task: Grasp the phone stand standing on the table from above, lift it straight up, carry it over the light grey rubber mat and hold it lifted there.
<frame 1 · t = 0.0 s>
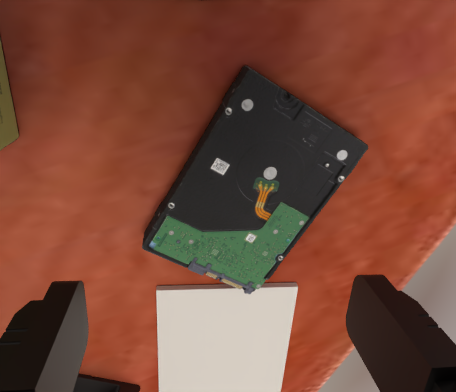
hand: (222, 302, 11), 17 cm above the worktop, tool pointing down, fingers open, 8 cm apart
grey mat: (223, 345, 35), on the worktop
disk drive: (246, 183, 29), on the worktop
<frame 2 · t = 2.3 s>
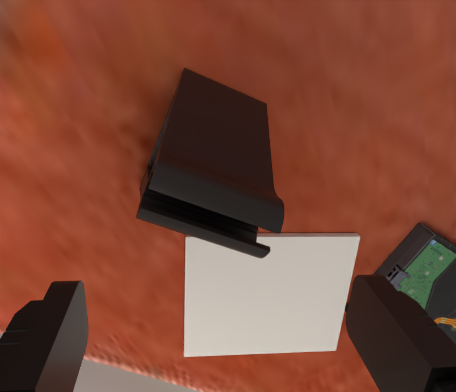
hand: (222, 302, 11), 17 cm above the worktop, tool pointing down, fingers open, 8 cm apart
phone stand: (200, 145, 27), on the worktop
grey mat: (266, 295, 33), on the worktop
disk drive: (431, 295, 36), on the worktop
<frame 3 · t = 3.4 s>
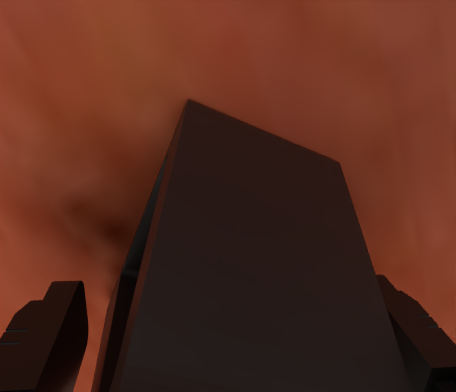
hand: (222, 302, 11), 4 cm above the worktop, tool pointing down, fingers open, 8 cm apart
phone stand: (216, 231, 15), on the worktop
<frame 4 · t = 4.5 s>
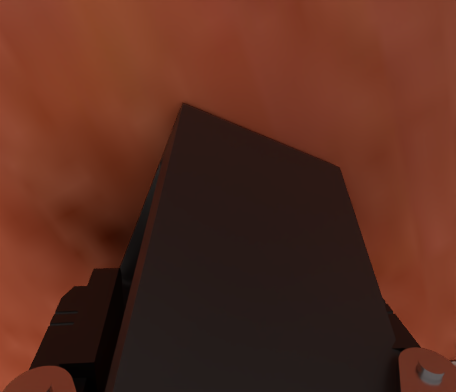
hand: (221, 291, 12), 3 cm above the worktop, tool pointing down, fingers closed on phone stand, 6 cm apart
phone stand: (213, 238, 15), on the worktop, touching gripper
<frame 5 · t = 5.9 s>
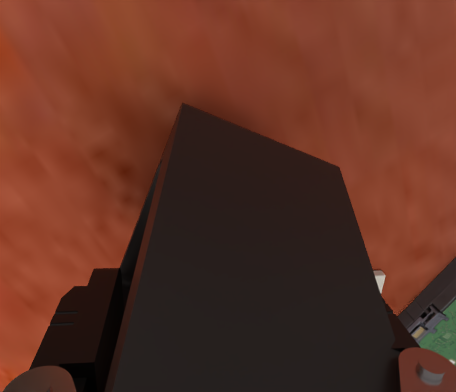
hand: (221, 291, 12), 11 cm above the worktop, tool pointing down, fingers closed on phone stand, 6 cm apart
phone stand: (213, 237, 15), point 8 cm above the worktop, touching gripper
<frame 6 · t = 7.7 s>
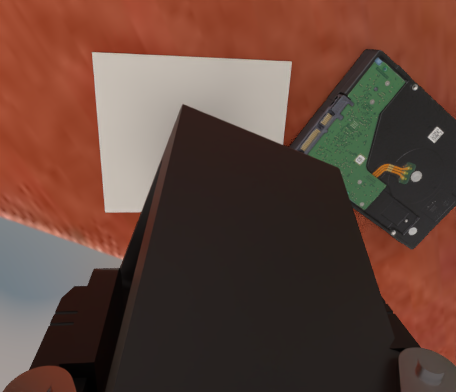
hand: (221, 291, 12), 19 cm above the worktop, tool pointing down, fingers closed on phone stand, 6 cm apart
phone stand: (213, 238, 15), point 16 cm above the worktop, touching gripper
grey mat: (193, 138, 29), on the worktop
disk drive: (381, 151, 33), on the worktop
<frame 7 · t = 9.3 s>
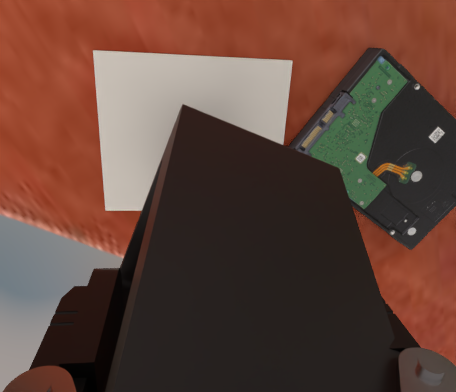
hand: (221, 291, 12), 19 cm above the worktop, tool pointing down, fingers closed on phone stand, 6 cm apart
phone stand: (213, 238, 15), point 16 cm above the worktop, touching gripper
grey mat: (194, 137, 30), on the worktop
disk drive: (381, 151, 33), on the worktop
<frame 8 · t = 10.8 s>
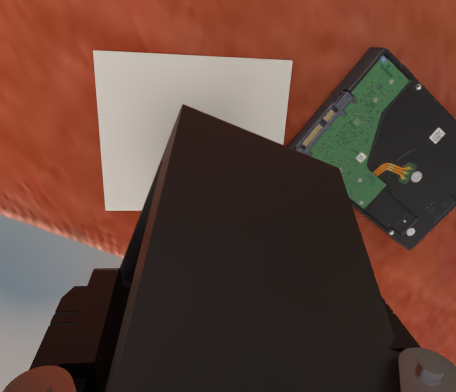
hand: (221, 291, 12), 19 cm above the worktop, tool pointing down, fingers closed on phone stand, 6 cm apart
phone stand: (213, 238, 15), point 16 cm above the worktop, touching gripper
grey mat: (194, 137, 30), on the worktop
disk drive: (381, 151, 33), on the worktop
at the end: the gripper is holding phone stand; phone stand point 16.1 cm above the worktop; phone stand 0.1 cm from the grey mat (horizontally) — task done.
